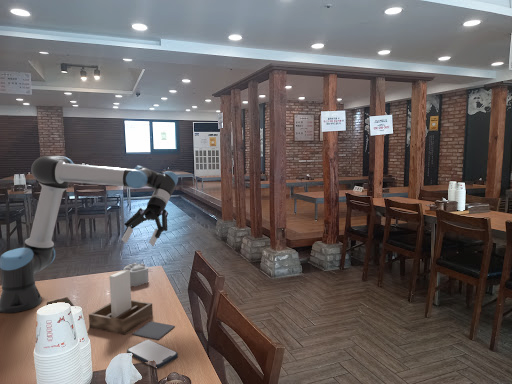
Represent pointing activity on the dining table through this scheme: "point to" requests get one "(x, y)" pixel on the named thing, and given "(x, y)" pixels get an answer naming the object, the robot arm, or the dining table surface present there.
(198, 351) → the dining table surface
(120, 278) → the cover plate
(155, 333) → the mat
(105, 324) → the crate
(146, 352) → the phone case
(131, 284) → the lumpy-topped squat cylinder
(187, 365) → the dining table surface
